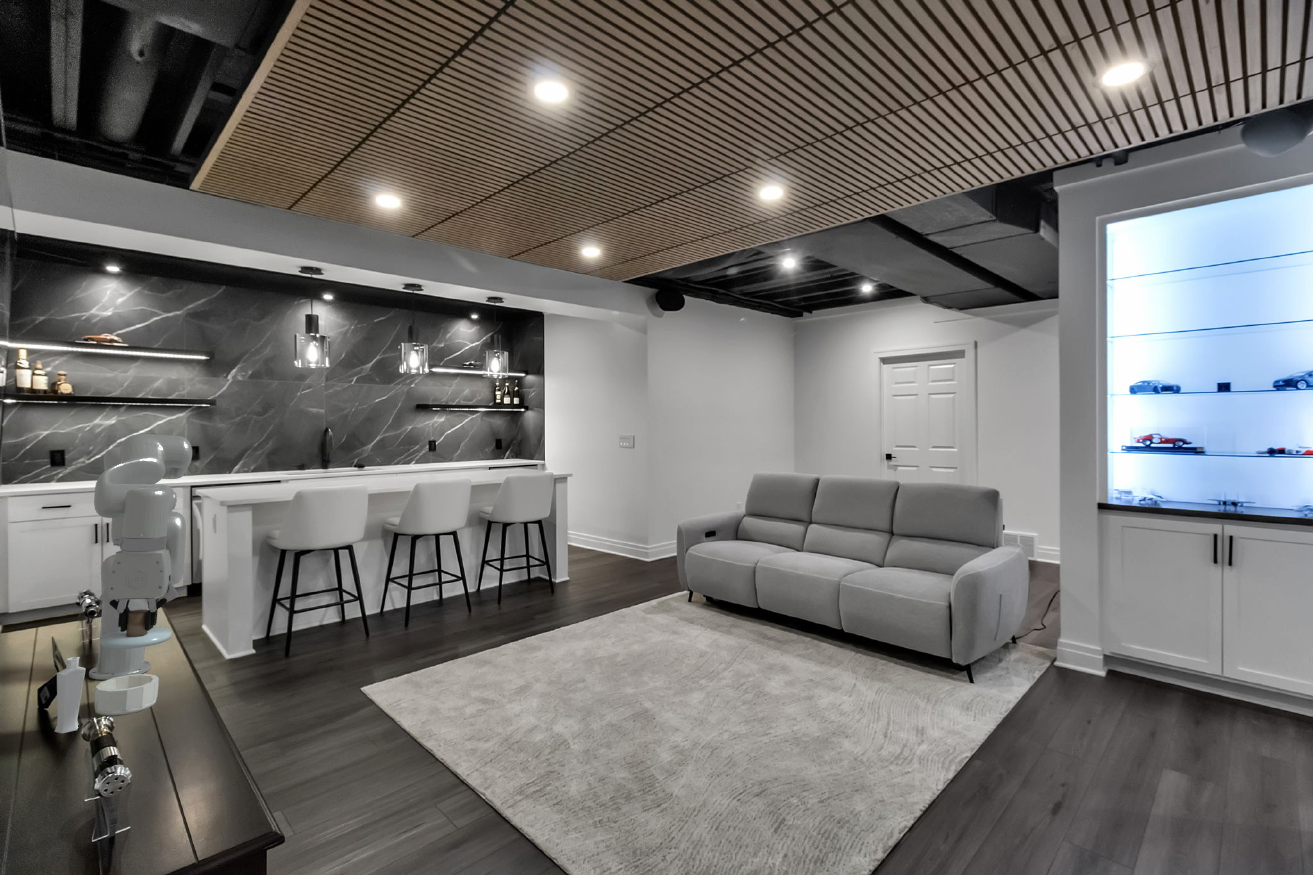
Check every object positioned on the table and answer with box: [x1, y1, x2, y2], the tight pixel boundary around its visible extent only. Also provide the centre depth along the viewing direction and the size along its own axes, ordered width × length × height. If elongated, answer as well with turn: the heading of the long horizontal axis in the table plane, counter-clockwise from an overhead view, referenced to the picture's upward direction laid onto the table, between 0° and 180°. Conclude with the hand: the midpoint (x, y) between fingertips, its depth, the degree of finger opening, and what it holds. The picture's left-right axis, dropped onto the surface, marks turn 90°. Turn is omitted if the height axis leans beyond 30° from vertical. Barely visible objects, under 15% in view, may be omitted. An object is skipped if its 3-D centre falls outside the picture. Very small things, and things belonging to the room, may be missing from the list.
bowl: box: [93, 673, 160, 717], centre depth 148 cm, size 11×11×6 cm
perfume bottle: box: [54, 656, 86, 734], centre depth 136 cm, size 5×4×15 cm
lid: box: [99, 609, 173, 649], centre depth 137 cm, size 12×12×6 cm
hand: (137, 628), depth 137 cm, fingers closed on lid, 3 cm apart
